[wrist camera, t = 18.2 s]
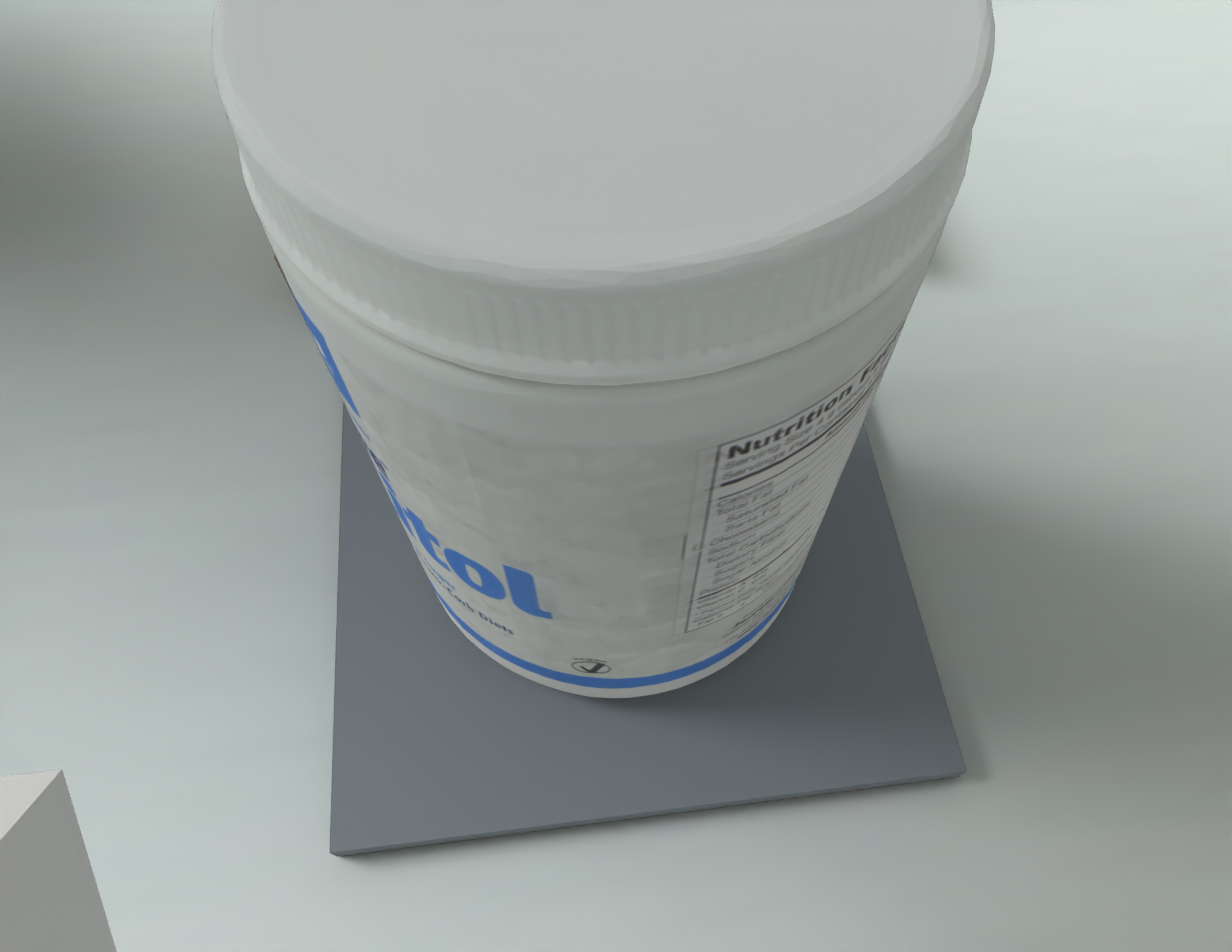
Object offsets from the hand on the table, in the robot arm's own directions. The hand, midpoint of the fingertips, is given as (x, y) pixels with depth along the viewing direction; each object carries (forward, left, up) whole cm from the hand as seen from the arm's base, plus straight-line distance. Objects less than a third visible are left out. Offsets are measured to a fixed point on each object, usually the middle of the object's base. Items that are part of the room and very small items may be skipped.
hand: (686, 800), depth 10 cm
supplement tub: (+7, +4, -11) cm, 14 cm away
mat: (+7, +4, -11) cm, 14 cm away
